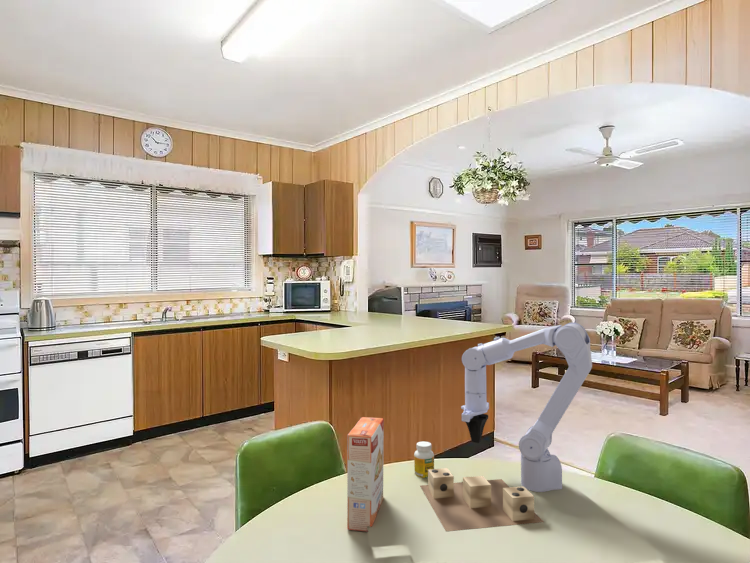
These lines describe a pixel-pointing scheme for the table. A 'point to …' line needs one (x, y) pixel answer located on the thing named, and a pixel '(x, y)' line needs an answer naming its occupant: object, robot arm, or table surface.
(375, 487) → the cracker box
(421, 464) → the supplement bottle
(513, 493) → the pip cube 2
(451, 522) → the walnut board
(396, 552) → the table surface
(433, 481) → the pip cube
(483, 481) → the blank cube
